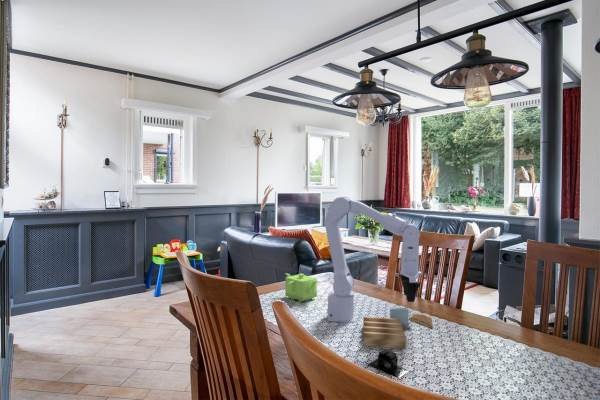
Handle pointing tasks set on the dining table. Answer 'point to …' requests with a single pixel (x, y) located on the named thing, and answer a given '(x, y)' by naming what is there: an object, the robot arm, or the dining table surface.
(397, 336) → the rack
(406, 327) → the holder
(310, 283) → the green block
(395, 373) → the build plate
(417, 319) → the shard
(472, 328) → the dining table surface
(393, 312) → the plate
